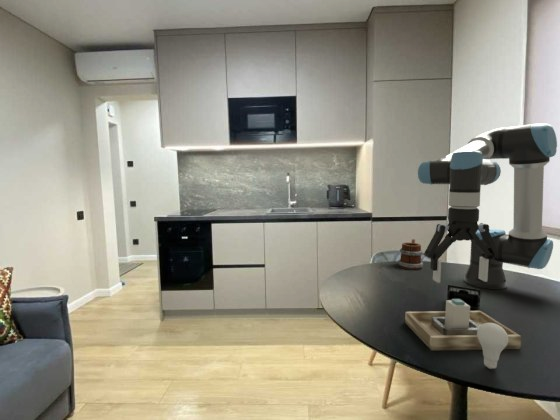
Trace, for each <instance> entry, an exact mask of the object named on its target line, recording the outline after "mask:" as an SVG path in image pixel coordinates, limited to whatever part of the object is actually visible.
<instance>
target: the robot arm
mask: <svg viewBox="0 0 560 420" xmlns="http://www.w3.org/2000/svg"><path fill="white" fill-rule="evenodd" d="M557 147H558V140H557V135H556V132H555V130H554V128H553V126H552V125H551V124H548V123H532V124H523V125H517V126H516V125H515V126H507V127H499V128H495V129H491V130H490V131H486V132H484V133H481V134H479V135H477V136H475V137H473V138H471V139H470V140H469V141H468V142H467V144H465V145H464V146H462V147H460V148H458V149H456V150H454V151H452V152H451V153H449V154H447V155H444V156H443V157H441V158H438V159H437V160H432V161H431V160H429V161H424V162H421V164H419V165H418V168H417V178H418V180H419V182H420V183H422V184H425V185H430V186H431V185H449V190H448V191H449V192H448V206H450V207H449V208H447V220H448V223H447V225H445V224H444V225H443V224H441V223H437V224H436V227H435V232H434V234H433V236H432V238H431V240H430V242H428V243H429V244H428V245H427V246H426V249H425V251H424V252H423V255H424V256H426V257H427V258H429V259H430V270H432V281H434V282H436V283H437V284H440V283H441V277H442V272H441V271H442V260H441V259H440V258H441V257H442V256H443V254H445V252H446V251H447V250H448V249H449V248H450V247H451V245H452V244H453V243H456V242H457V241H459V242H461V241H470V242H471V243H470V255H469V258H470V259H469V265H468V268H467V269H466V272H465V273H464V276H463V277H464V280H463V281H464V282H465V283H466V284H468V285H471V286H474V287H477V288H482V289H489V290H501V289H502V290H504V289H506V288H507V278H506V276H505V272H504V268H503V266H504V265H503V264H506V265H507V264H508V265H514V266H518V267H523V268H527V269H534V270H535V269H536V270H542V269H544V268H546V266H547V265H548V264H549V261H550V259H551V256H552V254H553V249H554V241H553V240H552V239H550V238H548V233H547V232H546V231H545V230H543V205H544V204H543V203H544V172H545V171H544V170H545V169H544V168H545V166H546V165H547V164H548V163H550V159H551V158H552V157H555V156H556V154H557ZM499 159H502V160H504V159H505V160H506V159H508V164H509V165H510V166H511V167H513V228H512V229H511V230H509V231H508V234H506V231H505V230H504V229H490V226H489V224H486V223H483V222H480V223H478V222H479V219H480V210H479V208H478V207H480V206H481V188H482V187H481V186H486V185H487V186H489V185H490V184H493V183H495V182H496V181H497V180H498V179H499V178H500V176H501V174H502V173H501V172H502V171H501V167H500V164H499V163H498V162H497V161H495V160H499ZM445 233H447V234H446V235H445ZM444 235H445V236H444ZM443 237H444V239H443Z"/></svg>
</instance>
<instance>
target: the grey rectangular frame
mask: <svg viewBox="0 0 560 420" xmlns="http://www.w3.org/2000/svg"><path fill="white" fill-rule="evenodd" d="M431 323H432V326H433V327H434V328H435V329H436V330H438V331H439V332H440V333H441V334H442V335H445V336H450V335H477V330H478V328H479V327H480V325H478V324H477V323H475V322H474V321H472V320H471V319H470V318H469V328H446V327H445V326H444V325H445V317H432V322H431Z"/></svg>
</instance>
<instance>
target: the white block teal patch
mask: <svg viewBox="0 0 560 420" xmlns="http://www.w3.org/2000/svg"><path fill="white" fill-rule="evenodd" d="M445 311H446V312H445V327H446V328H469V317H470V306H469V305H468V304H466V303H465V302H464V301H462V300H461V299H452V300H447V299H446V300H445Z"/></svg>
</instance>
